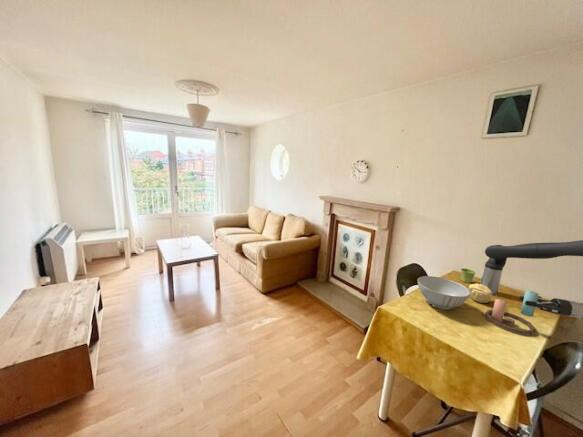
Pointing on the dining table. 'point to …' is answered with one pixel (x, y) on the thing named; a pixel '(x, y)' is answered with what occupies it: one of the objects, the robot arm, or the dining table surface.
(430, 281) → the decorative bowl
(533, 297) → the teal cylinder
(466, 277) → the plant pot
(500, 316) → the pink cylinder
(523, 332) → the brown ring
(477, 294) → the sculpture
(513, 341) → the dining table surface
